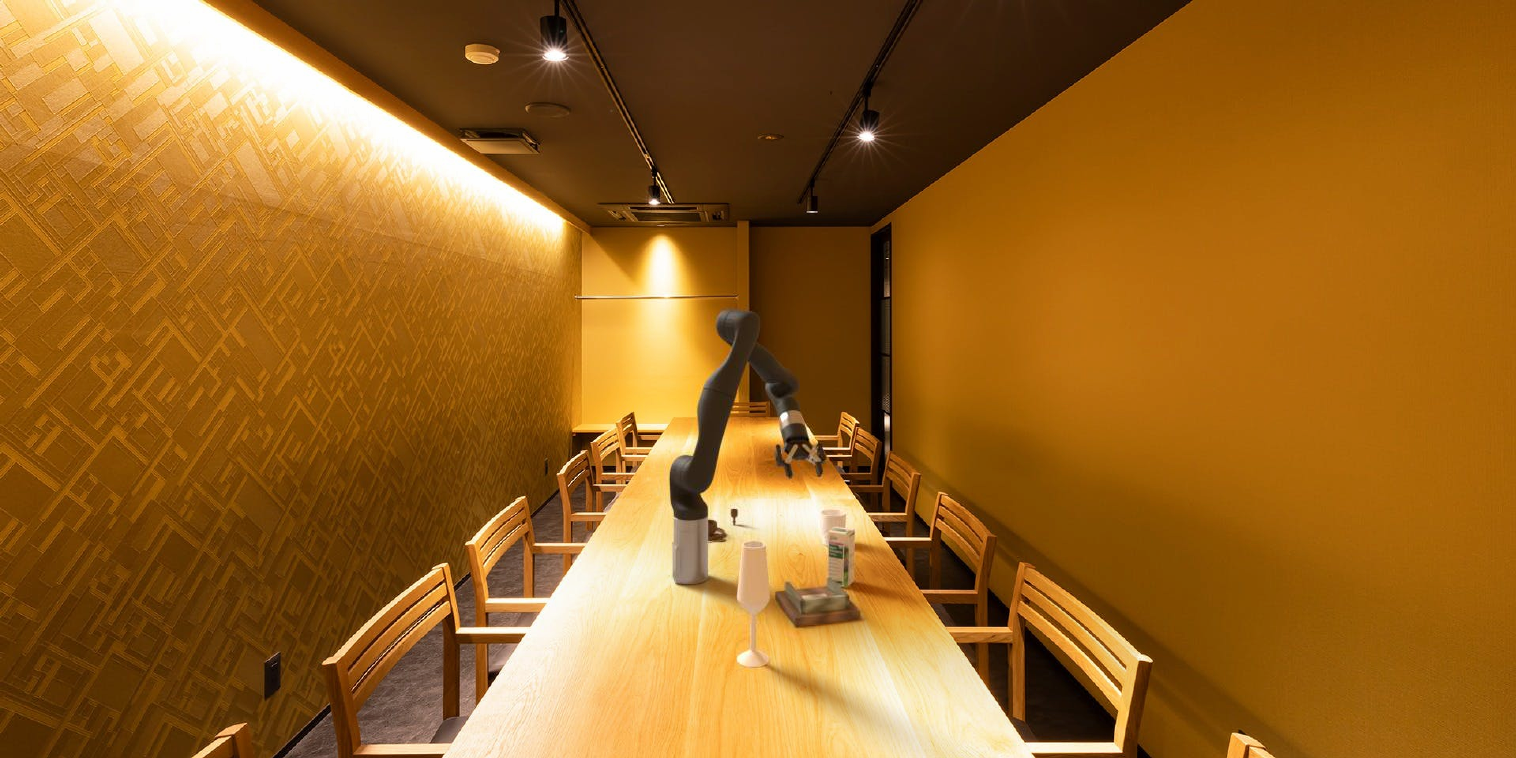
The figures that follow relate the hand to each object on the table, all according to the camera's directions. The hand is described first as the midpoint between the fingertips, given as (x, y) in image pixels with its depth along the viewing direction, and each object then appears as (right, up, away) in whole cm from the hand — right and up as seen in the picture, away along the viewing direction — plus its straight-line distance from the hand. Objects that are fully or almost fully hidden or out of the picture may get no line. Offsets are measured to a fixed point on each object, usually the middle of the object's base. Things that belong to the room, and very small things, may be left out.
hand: (805, 476), depth 189 cm
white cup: (+10, -25, +23) cm, 35 cm away
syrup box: (+9, -27, -9) cm, 30 cm away
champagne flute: (-14, -30, -51) cm, 61 cm away
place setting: (-27, -24, +33) cm, 49 cm away
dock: (+1, -28, -26) cm, 38 cm away
